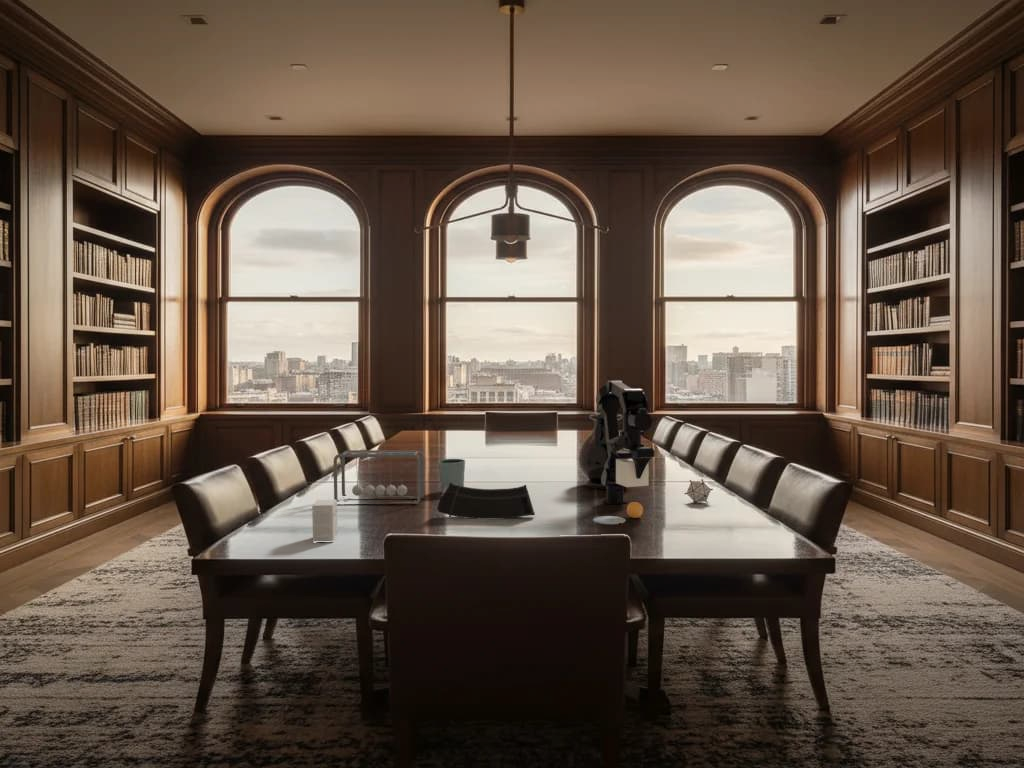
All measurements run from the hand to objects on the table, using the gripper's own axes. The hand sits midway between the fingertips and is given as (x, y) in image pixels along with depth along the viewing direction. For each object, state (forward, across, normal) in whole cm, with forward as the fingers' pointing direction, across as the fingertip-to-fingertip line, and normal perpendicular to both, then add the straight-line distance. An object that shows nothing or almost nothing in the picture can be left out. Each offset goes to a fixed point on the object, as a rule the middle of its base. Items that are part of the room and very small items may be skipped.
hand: (632, 476), depth 224 cm
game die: (+12, -7, +29) cm, 33 cm away
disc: (+12, +6, -11) cm, 17 cm away
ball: (+10, +5, -2) cm, 11 cm away
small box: (+12, -1, -95) cm, 96 cm away
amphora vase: (+12, -47, +13) cm, 50 cm away
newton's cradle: (+12, -47, -74) cm, 89 cm away
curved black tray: (+12, -11, -46) cm, 49 cm away
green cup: (+12, -56, -46) cm, 73 cm away
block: (+2, 0, 0) cm, 3 cm away
